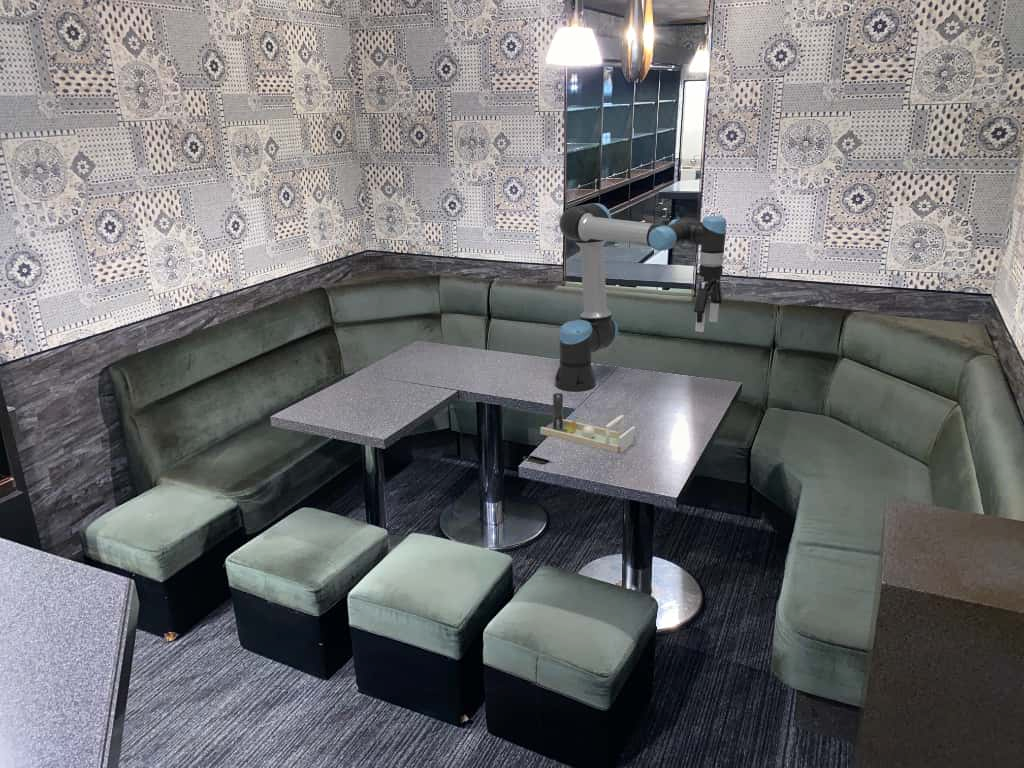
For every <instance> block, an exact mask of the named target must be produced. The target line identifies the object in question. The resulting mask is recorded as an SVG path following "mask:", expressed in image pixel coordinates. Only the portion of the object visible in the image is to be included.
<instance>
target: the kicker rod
mask: <svg viewBox="0 0 1024 768" xmlns="http://www.w3.org/2000/svg"><path fill="white" fill-rule="evenodd" d="M552 396H553V397H552V408H553V410H552V418H553V419H552V422H551V423H549V424H547V425H546V426H545V428H549V429H553V430H557V431H561V432H565V433H570V434H571V433H573V432H574V431H576V422H577V421H575V420H574V421H573V420H572V421H573V422H571V423H570V424H568V425H566V424H563V419H564V416H563V415H564V414H563V413H564V412H563V411H564V410H563V407H564V403H563V402H564V398H563V397H564V394H562V393H560V392H558V393H557V392H556V393H553V394H552Z"/></svg>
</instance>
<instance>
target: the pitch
mask: <svg viewBox="0 0 1024 768" xmlns="http://www.w3.org/2000/svg"><path fill="white" fill-rule="evenodd" d="M624 419H625V415H624V414H620V415H618V416H617V417H616V418H614V419H613V420H612V421H610V422H609V423H607V424H605V428H604V427H599V426H595V425H591V424H586V423H582V422H577V421H575V422H576V431H574V432H573V433H571V434H570V433H565V432H561V431H557V430H553V429H549V428H545V427H546V426H545V427H544V426H540V427H539V428H540V429H539V431H540V432H539V434H540V435H544V436H548V437H552V438H556V439H560V440H564V441H568V442H572V443H576V444H580V445H583V446H588V447H591V448H592V447H593V448H596V449H600V450H604V451H608V452H612V453H616V454H622V453H623V452H625V451H626V450H627V449H628V448H629V447H630V446H632V445H633V444H634V443H635V442H636V426H634V425H633V426H631V427H630V428H629V429H628V430H626V431H625V432H624V422H625V421H624ZM571 422H573V420H568V419H564V418H563V424H566V425H568V424H570V423H571ZM618 423H619V429H618V431H616V430H612V428H613V427H614V426H615V425H617V424H618ZM585 426H592V427H593V428H594V430H595V434H594V436H593V437H592V438H586V437H584V436H583V435H582V430H583V428H584V427H585ZM550 435H551V436H550Z"/></svg>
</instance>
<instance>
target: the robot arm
mask: <svg viewBox="0 0 1024 768" xmlns="http://www.w3.org/2000/svg"><path fill="white" fill-rule="evenodd" d="M559 230H560V232H561V234H563V237H565V238H567V239H569V240H572V241H575V244H576V245H577V246H578V247H579V251H580V252H579V255H580V266H581V267H580V269H581V270H580V271H581V281H582V282H581V283H582V296H583V299H582V300H583V312H581V314H580V319H575V320H570V321H566V322H565V323H563V324H562V325H561V326H560V330H559V336H558V337H559V366H558V369H557V371H556V375H555V378H554V386H555V387H557V388H558V389H561V390H563V391H567V392H568V391H569V392H582V391H587V390H591V389H594V388H595V387H596V383H597V382H596V380H597V379H596V376H595V375H596V374H595V373H594V370H593V367H592V353H594V352H598V351H600V350H602V349H606V348H608V347H609V346H610V345H612V344H613V343H614V342H615V341H616V339H617V337H618V335H619V327H618V323H617V322H616V321H615V319H614V318H613V317H612V312H611V311H610V310H608V307H607V306H608V305H607V302H608V301H607V289H606V288H607V286H606V285H607V284H606V270H605V269H606V266H605V250H604V245H605V244H606V243H607V242H611V243H612V242H613V243H620V244H626V245H635V246H642V247H651V248H652V249H654V250H655V251H658V252H659V251H661V252H662V251H668V250H670V249H672V248H676V247H680V246H684V245H696V246H700V253H699V255H700V256H699V264H700V265H699V268H698V270H699V271H698V275H699V276H700V277H702V278H703V281H700V282H699V285H698V287H699V288H698V292H697V295H696V296H697V297H696V300H695V304H694V305H695V306H694V309H693V313H696V316H695V330H694V331H695V332H698V333H699V332H700V333H704V332H705V322H706V321H705V320H706V319H705V318H706V312H705V311H706V307H707V305H708V301H709V297H710V300H711V302H710V305H709V306H710V307H709V319H708V322H710V323H711V322H712V323H718V320H719V318H718V317H719V308H720V307H719V306H720V305H719V304H722V303H723V301H722V289H721V287H722V286H721V278H722V276H723V271H724V270H723V268H724V266H723V264H724V259H725V258H726V255H725V245H726V235H727V220H726V218H725V217H723V216H720V215H708V216H704V217H703V218H702V221H695V220H686V219H681V218H680V219H672V220H671V221H670V222H668V224H660V223H659V224H658V223H651V222H642V221H633V220H626V219H625V220H623V219H618V218H617V219H616V218H613V217H612V215H611V212H610V210H609V209H608V208H607V207H606V206H605V205H603V204H601V203H597V202H595V203H593V202H592V203H587V204H581V205H577V206H572V207H570V208H567V209H566V210H564V211H563V213H562V214H561V217H560V219H559Z"/></svg>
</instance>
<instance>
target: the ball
mask: <svg viewBox="0 0 1024 768" xmlns="http://www.w3.org/2000/svg"><path fill="white" fill-rule="evenodd" d="M592 426H593V425H591V426H585V427H584V428H583V430H582V435H583V436H584V437H586V438H592V437H593V436H594V434H595V430H594V428H593V427H592Z"/></svg>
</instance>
